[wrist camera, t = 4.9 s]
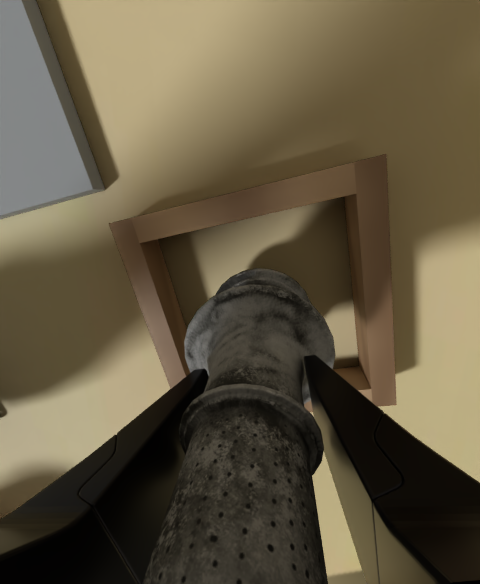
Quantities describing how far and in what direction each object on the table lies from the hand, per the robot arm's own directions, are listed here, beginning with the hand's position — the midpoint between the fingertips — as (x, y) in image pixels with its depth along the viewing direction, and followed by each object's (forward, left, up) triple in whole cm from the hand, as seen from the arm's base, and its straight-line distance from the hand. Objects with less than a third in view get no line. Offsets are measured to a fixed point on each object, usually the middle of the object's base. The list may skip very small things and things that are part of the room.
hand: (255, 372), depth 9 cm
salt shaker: (0, 0, -5) cm, 5 cm away
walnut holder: (0, 0, -6) cm, 6 cm away
